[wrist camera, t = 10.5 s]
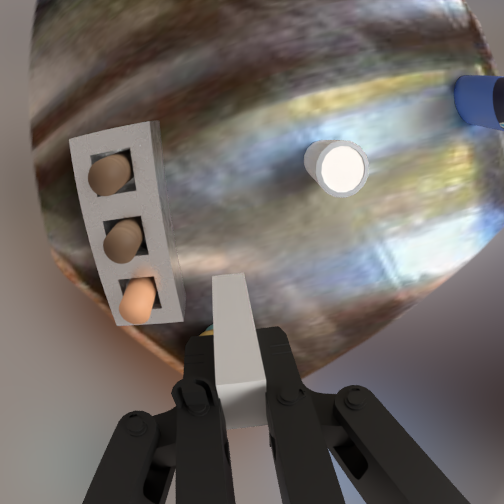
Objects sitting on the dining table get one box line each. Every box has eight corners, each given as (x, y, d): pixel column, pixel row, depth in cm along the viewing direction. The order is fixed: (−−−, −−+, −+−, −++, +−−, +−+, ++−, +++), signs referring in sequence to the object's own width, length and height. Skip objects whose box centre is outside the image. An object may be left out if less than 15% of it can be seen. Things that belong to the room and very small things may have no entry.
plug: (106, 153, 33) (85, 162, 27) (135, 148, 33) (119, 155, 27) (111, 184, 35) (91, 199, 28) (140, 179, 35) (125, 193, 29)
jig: (88, 135, 33) (68, 139, 28) (159, 120, 34) (149, 121, 28) (125, 302, 44) (117, 325, 39) (186, 297, 45) (183, 321, 40)
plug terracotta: (127, 270, 39) (114, 299, 33) (154, 267, 39) (145, 296, 33) (134, 294, 41) (124, 325, 34) (160, 292, 41) (153, 323, 35)
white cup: (293, 178, 39) (309, 191, 33) (305, 129, 37) (324, 133, 30) (339, 189, 41) (360, 203, 34) (351, 142, 38) (375, 149, 32)
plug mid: (116, 213, 36) (99, 233, 30) (145, 209, 37) (132, 229, 30) (123, 241, 38) (108, 265, 32) (150, 237, 38) (139, 262, 32)
